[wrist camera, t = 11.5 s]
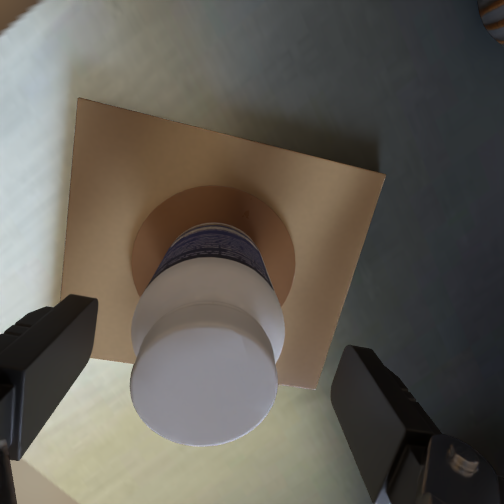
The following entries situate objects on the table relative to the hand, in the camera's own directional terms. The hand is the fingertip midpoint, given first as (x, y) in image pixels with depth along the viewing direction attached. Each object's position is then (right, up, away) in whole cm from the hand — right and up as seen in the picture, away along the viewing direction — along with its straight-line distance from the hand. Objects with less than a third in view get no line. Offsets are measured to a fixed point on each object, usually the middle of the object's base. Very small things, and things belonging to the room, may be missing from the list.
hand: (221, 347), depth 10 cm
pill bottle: (-1, +2, +8) cm, 8 cm away
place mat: (-1, +2, +9) cm, 9 cm away
